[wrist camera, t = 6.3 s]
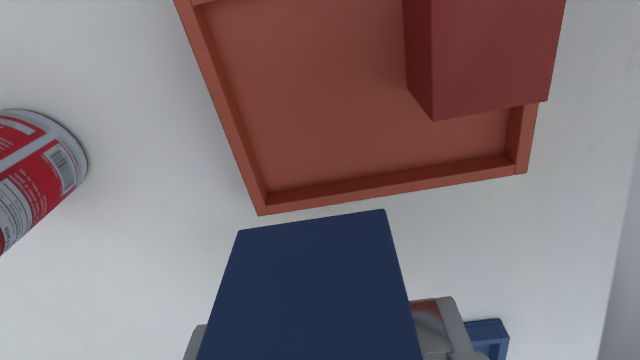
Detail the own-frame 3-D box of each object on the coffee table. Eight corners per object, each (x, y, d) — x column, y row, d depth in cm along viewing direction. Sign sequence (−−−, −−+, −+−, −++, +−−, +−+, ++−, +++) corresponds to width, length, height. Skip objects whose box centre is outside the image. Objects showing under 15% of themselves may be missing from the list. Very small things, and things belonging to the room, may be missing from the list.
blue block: (384, 207, 10) (425, 366, 6) (396, 303, 13) (430, 460, 9) (237, 229, 11) (183, 389, 7) (277, 316, 14) (256, 470, 9)
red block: (504, -32, 16) (573, -33, 11) (495, 72, 18) (548, 101, 14) (401, -8, 16) (430, -1, 12) (406, 89, 19) (432, 123, 15)
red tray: (546, -100, 15) (575, -110, 13) (511, 158, 22) (527, 173, 20) (184, -11, 16) (168, -9, 15) (261, 199, 24) (257, 217, 22)
